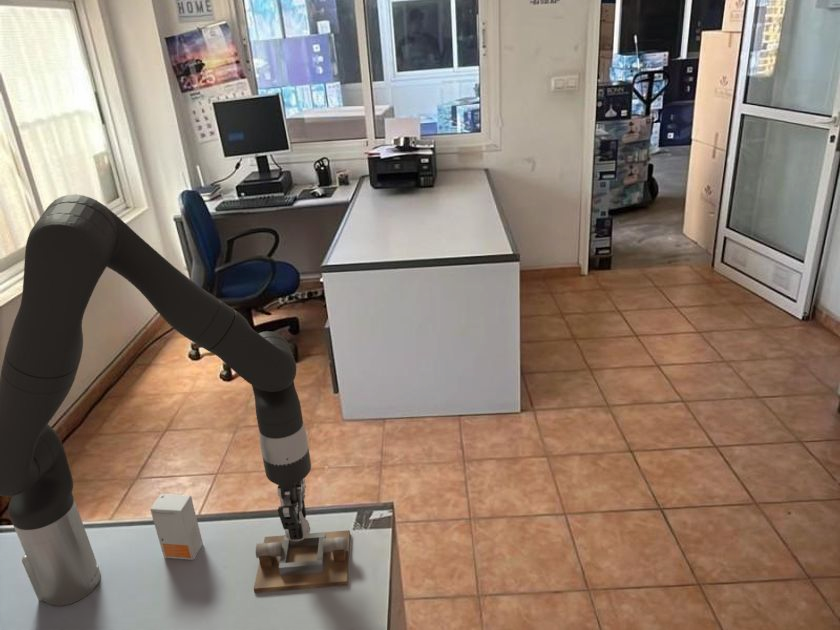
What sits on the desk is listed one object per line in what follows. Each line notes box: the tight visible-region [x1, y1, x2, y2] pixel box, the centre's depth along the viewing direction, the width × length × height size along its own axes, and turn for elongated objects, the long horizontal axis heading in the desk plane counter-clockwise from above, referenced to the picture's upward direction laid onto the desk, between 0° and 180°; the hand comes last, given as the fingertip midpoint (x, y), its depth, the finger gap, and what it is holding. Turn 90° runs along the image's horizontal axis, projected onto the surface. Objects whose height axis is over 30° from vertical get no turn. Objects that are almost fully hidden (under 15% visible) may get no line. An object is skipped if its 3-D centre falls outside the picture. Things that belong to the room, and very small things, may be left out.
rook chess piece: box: [284, 502, 311, 541], centre depth 111 cm, size 4×4×8 cm
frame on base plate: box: [253, 529, 351, 594], centre depth 115 cm, size 16×12×5 cm
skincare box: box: [150, 493, 203, 561], centre depth 118 cm, size 6×4×12 cm
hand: (298, 527), depth 113 cm, fingers closed on rook chess piece, 4 cm apart
